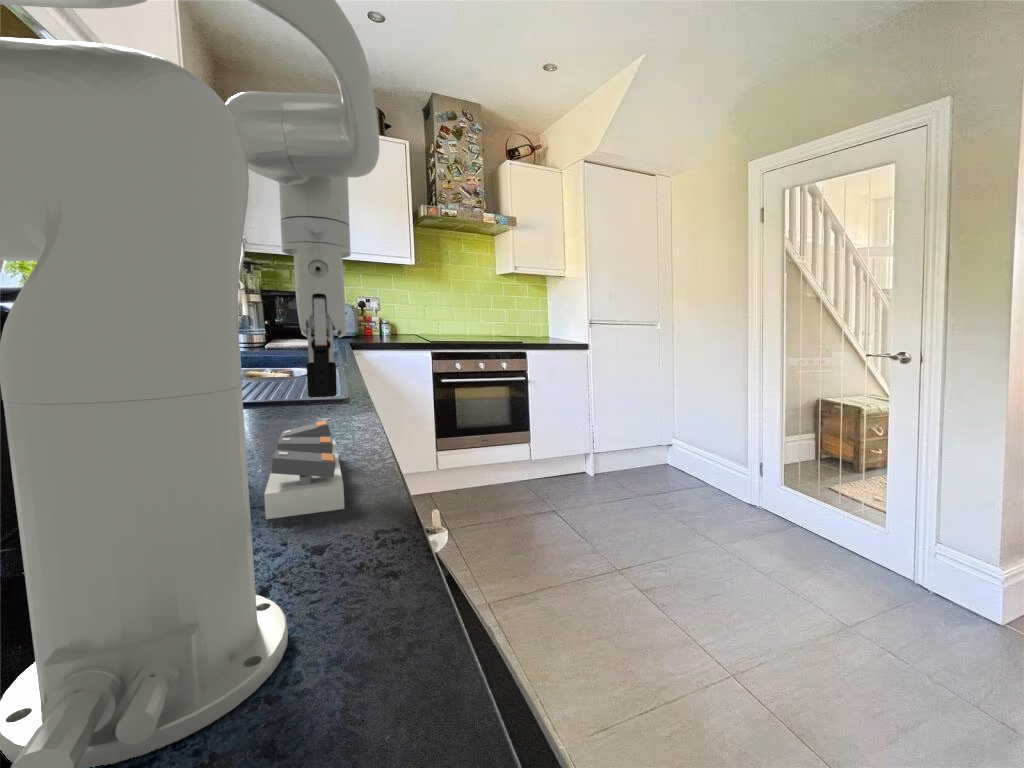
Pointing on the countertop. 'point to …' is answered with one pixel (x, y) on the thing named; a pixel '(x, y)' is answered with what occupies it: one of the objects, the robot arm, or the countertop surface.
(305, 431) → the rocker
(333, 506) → the switch panel base
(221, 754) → the countertop surface
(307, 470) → the rocker
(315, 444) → the rocker
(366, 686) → the countertop surface
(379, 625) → the countertop surface
